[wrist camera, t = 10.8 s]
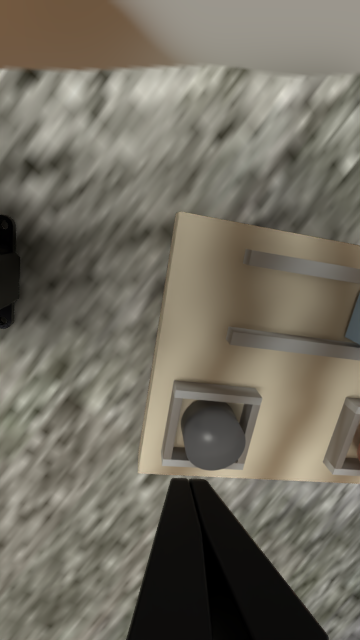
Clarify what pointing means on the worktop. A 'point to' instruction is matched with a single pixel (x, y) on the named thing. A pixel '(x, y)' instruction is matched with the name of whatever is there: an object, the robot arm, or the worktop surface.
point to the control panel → (258, 351)
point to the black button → (212, 435)
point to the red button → (358, 452)
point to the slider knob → (354, 324)
